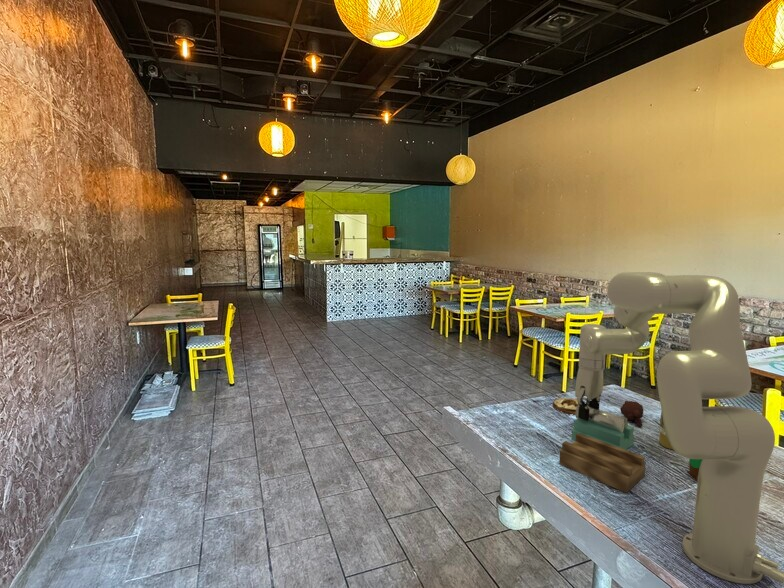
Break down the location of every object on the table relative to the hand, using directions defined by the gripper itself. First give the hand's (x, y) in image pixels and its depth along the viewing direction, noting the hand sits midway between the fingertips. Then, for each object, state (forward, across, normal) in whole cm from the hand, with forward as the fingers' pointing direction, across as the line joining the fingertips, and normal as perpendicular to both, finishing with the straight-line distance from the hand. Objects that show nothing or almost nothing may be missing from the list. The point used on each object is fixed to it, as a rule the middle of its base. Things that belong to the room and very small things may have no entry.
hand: (588, 415), depth 133 cm
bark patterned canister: (+7, -14, +20) cm, 25 cm away
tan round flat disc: (+8, -18, -15) cm, 25 cm away
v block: (+7, 0, +5) cm, 9 cm away
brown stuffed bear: (+7, -26, +4) cm, 27 cm away
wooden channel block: (+7, +17, +12) cm, 22 cm away
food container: (+7, -1, +30) cm, 31 cm away
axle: (+2, 0, +4) cm, 4 cm away
